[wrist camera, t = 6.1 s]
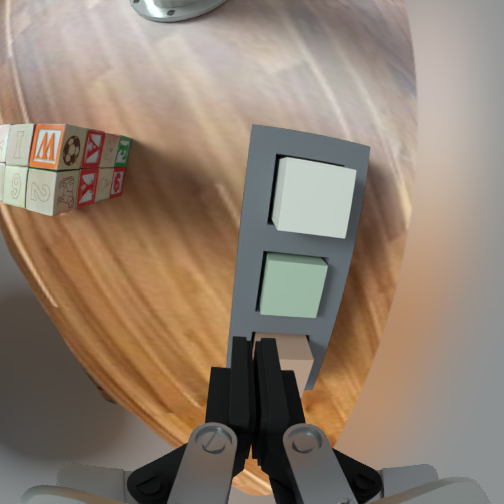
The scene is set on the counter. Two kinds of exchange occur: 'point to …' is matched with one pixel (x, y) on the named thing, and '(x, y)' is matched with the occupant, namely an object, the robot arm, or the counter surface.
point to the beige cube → (291, 354)
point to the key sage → (291, 284)
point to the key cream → (312, 197)
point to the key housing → (291, 237)
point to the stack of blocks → (60, 166)
